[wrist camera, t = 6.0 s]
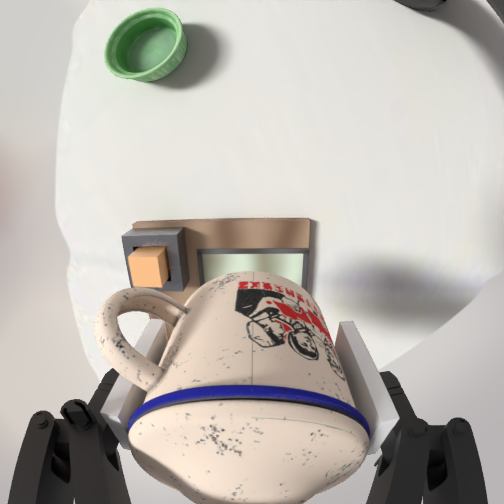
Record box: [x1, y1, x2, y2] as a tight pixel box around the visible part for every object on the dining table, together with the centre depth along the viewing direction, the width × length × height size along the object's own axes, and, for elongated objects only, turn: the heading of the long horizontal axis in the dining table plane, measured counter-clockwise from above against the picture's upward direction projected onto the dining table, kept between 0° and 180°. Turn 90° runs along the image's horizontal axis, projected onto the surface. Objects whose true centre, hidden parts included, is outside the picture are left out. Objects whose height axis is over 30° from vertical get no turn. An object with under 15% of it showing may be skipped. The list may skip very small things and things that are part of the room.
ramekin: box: [104, 8, 187, 82], centre depth 21 cm, size 9×9×4 cm
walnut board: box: [132, 218, 310, 341], centre depth 33 cm, size 20×19×1 cm
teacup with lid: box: [94, 271, 370, 504], centre depth 10 cm, size 12×9×12 cm
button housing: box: [122, 227, 190, 292], centre depth 29 cm, size 6×6×3 cm
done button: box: [128, 247, 171, 288], centre depth 27 cm, size 3×3×3 cm
